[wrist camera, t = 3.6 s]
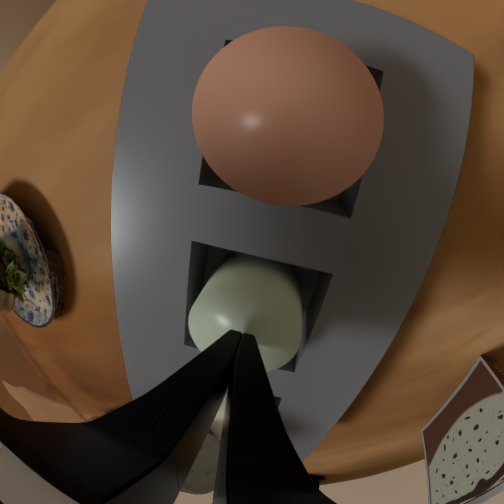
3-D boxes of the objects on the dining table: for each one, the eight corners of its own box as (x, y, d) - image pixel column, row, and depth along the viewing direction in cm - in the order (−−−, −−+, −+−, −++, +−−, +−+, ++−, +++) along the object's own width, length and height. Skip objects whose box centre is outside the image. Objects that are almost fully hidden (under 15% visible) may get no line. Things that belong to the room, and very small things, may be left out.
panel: (438, 70, 8) (473, 55, 5) (304, 427, 18) (302, 461, 15) (181, 17, 9) (150, -9, 6) (153, 388, 18) (137, 418, 16)
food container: (457, 431, 17) (475, 507, 8) (412, 438, 17) (425, 527, 8) (529, 338, 12) (580, 422, 3) (490, 338, 12) (548, 447, 3)
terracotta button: (364, 80, 7) (395, 53, 4) (339, 198, 8) (358, 226, 6) (238, 55, 7) (211, 19, 4) (216, 171, 9) (179, 185, 6)
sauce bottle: (81, 408, 22) (155, 383, 12) (130, 426, 25) (245, 411, 15) (71, 459, 17) (140, 501, 7) (123, 475, 20) (243, 506, 10)
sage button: (313, 261, 11) (316, 300, 8) (288, 335, 13) (284, 382, 10) (217, 239, 11) (192, 271, 9) (207, 315, 13) (186, 357, 10)
